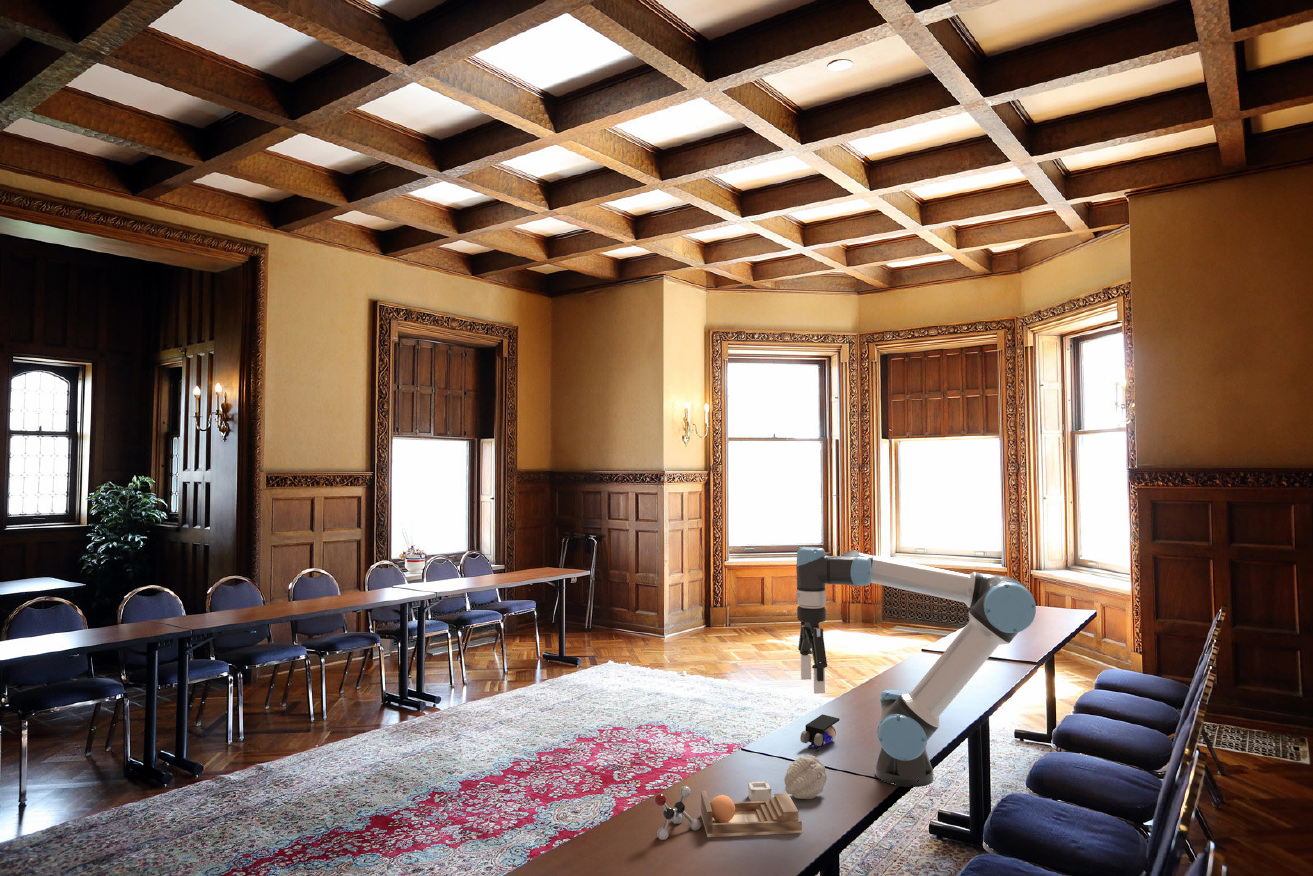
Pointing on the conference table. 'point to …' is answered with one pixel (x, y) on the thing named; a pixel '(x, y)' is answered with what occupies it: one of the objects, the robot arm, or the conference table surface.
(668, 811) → the molecular model
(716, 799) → the ball
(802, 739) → the figurine character
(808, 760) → the fossil replica
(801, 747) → the conference table surface
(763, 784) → the white open box
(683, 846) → the conference table surface
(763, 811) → the wooden stepped tray
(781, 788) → the conference table surface
